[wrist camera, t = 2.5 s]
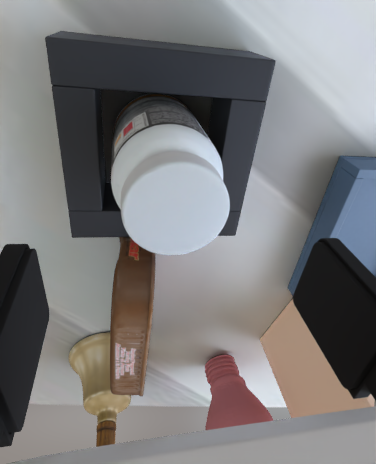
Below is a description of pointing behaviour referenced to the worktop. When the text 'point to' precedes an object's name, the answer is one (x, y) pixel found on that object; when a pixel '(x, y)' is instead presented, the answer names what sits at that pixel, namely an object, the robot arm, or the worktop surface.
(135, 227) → the pill bottle
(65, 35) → the socket base
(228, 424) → the light bulb
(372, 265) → the tray
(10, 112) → the worktop surface
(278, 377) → the soap dispenser
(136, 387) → the tin
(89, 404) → the hand bell
